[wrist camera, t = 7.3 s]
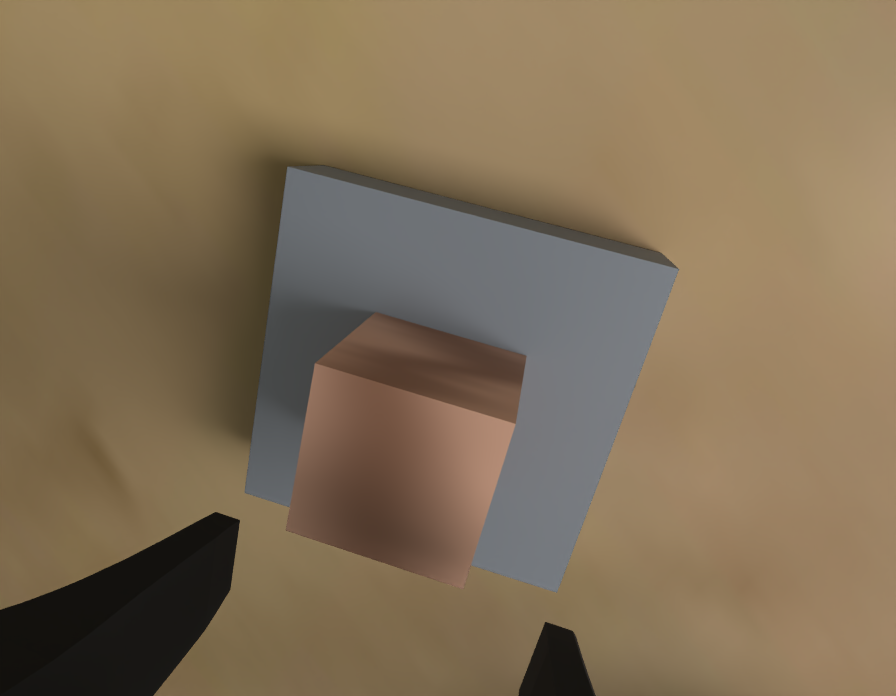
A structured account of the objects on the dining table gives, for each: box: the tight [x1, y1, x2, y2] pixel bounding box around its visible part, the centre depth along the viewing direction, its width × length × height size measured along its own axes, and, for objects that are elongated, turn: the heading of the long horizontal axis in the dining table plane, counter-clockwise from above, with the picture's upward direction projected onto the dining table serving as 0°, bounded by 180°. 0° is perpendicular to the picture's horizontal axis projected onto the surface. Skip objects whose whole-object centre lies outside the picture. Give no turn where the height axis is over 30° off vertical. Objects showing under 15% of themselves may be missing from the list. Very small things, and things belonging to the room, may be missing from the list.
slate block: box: [245, 165, 679, 593], centre depth 21 cm, size 12×12×3 cm
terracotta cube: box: [286, 312, 527, 589], centre depth 17 cm, size 5×5×5 cm
